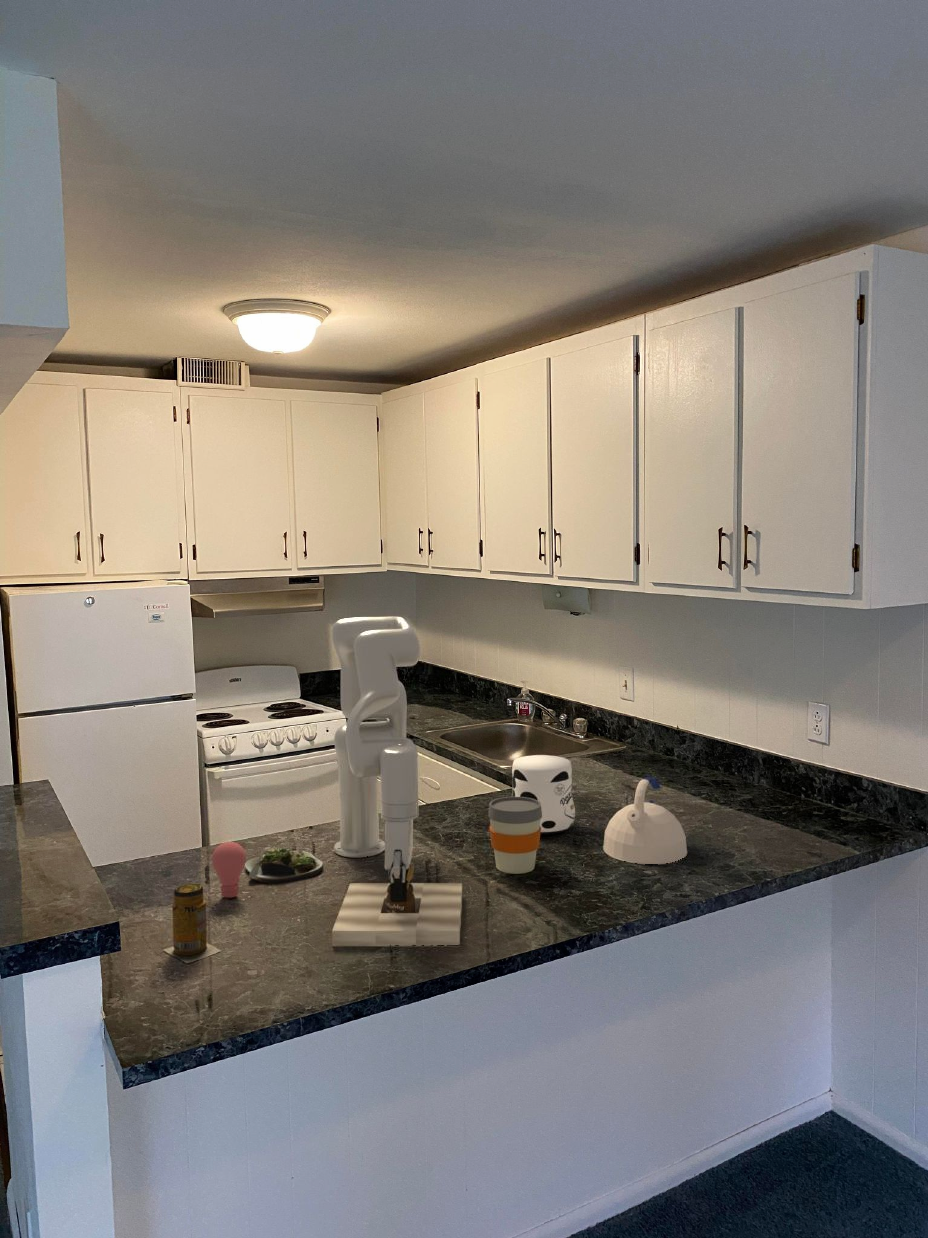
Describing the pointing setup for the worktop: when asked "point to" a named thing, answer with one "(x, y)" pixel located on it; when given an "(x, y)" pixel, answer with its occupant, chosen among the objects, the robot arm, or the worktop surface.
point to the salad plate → (283, 866)
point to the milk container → (546, 789)
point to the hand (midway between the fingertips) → (400, 892)
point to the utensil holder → (402, 906)
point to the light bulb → (229, 866)
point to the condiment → (190, 925)
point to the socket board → (399, 917)
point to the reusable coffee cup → (515, 833)
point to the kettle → (645, 832)
